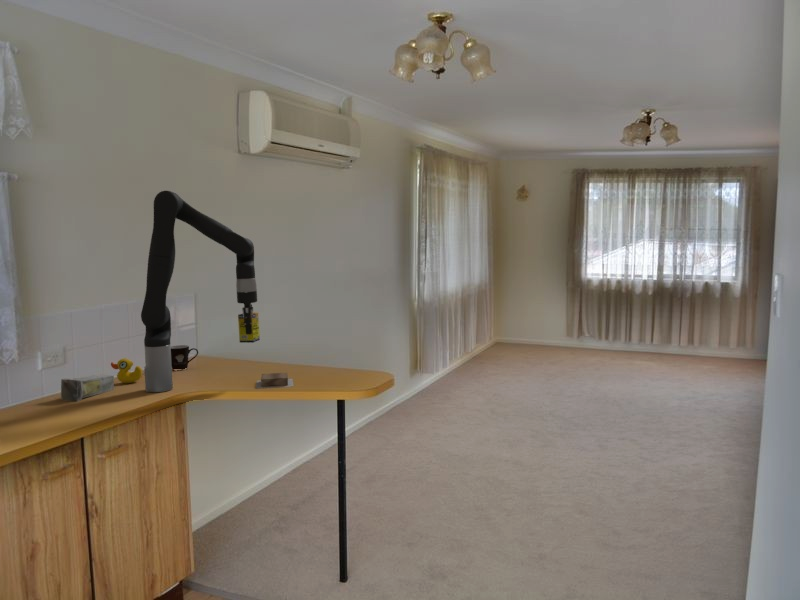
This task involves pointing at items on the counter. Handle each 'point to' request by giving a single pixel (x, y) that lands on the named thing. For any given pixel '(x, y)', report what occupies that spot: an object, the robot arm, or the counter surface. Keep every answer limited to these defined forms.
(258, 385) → the pad
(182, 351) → the coffee mug
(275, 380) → the base block
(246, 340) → the supplement box
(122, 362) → the duckling
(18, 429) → the counter surface
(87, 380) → the block
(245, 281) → the robot arm
